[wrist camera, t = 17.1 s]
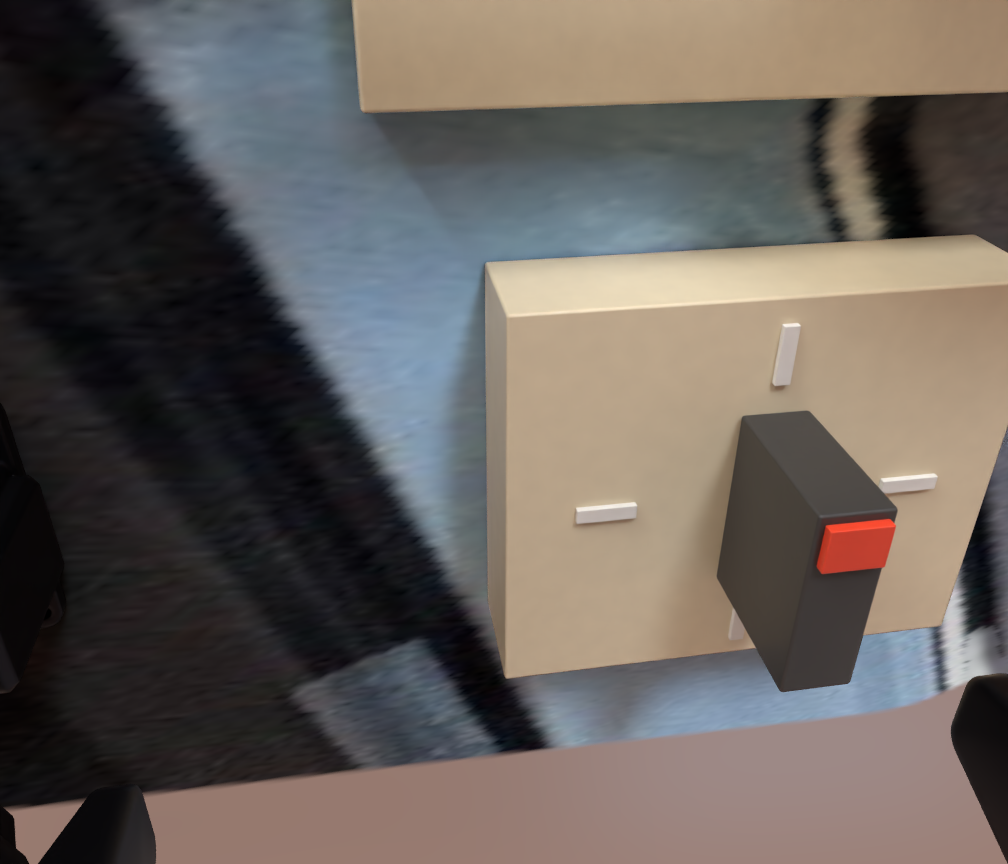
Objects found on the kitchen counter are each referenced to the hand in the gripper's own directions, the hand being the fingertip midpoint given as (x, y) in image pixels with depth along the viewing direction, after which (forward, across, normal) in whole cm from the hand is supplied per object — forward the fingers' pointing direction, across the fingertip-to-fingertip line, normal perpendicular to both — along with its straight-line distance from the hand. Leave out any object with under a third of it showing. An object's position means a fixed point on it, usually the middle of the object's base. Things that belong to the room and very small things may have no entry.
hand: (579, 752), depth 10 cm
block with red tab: (+10, -7, +4) cm, 13 cm away
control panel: (+13, -7, +4) cm, 15 cm away
